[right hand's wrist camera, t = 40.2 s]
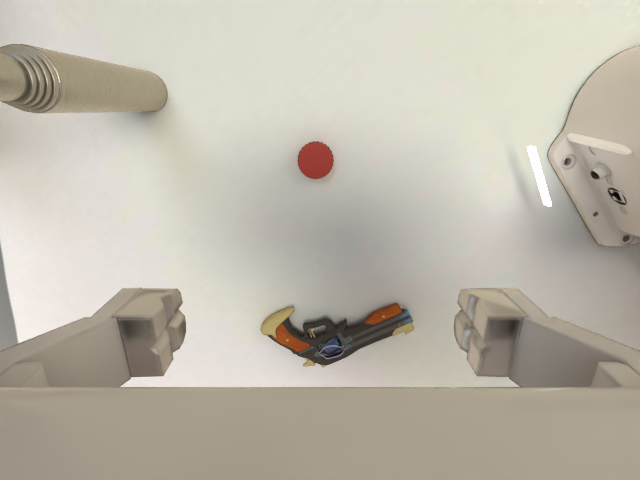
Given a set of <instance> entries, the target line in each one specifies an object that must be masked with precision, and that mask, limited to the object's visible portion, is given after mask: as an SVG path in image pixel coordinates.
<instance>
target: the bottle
mask: <svg viewBox="0 0 640 480" xmlns="http://www.w3.org/2000/svg"><path fill="white" fill-rule="evenodd" d="M166 100H167V89H166V86H165V84H164V82H163V81H162V80H161V78H160V77H159V76H157V75H156V74H154V73H152V72H149V71H144V70H140V69H135V68H130V67H126V66H121V65H117V64H112V63H107V62H103V61H98V60H94V59H89V58H84V57H80V56H75V55H71V54H66V53H61V52H57V51H52V50H48V49H43V48H38V47H34V46H29V45H23V44H11V45H7V46H3V47H0V101H1V102H3V103H6V104H8V105H11V106H13V107H15V108H18V109H20V110H23V111H27V112H32V113H82V112H147V111H157V110H159V109H161V108H162V107H163V106H164V104H165V103H166Z"/></svg>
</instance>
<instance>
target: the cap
mask: <svg viewBox="0 0 640 480" xmlns="http://www.w3.org/2000/svg"><path fill="white" fill-rule="evenodd" d="M333 161H334V160H333V155H332V152H331V151H330V149H329V147H327V146H326V144H323V143H321V142H318V141H317V142H314V141H313V142H311V143H310V142H309V143H308V144H307V145H305V146H304V147H302V150H301V151H300V154H299V156H298V165H299V168H300V170H301V171H302V173H303V174H305V175H306V176H307V177H310V178H314V179H318V178H322V177H324V176H326V175H327V174H328V173H329V172H330V170H331V168H332V165H333Z"/></svg>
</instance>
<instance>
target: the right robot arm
mask: <svg viewBox="0 0 640 480" xmlns="http://www.w3.org/2000/svg"><path fill="white" fill-rule="evenodd" d="M527 149H528V152H529V155H530V159H531V162H532V166H533V169H534V173H535V176H536V179H537V183H538V186H539V190H540V193H541V197H542V200H543V204H544V205H546V206H552V204H551V201H550V197H549V194H548V190H547V187H546V183H545V180H544V176H543V173H542V169H541V165H540V162H539V158H538V155H537V151H536V148H535V147H534V146H528V147H527ZM566 158H567V162H566V163H565V164H564V160H565V159H566ZM548 159H549V161H550V163H551V165H552V166H553V168H554V170H555V172H556V173H557V175H558V177H559V178H560V180H561V182H562V184H563V185H564V187H565V189H566V191H567V192H568V194H569V196H570V197H571V199H572V201H573V203H574V204H575V206H576V208H577V209H578V211H579V213H580V215H581V216H582V218H583V220H584V222H585V223H586V225H587V227H588V228H589V230H590V232H591V234H592V235H593V237H594V239H595V240H596V242H597V243H598V244H601V245H604V246H609V247H620V246H628V245H633V244H637V243H640V45H639V46H636V47H633V48H630V49H627V50H625V51H623V52H621V53H619V54H617V55H616V56H614V57H612V58H611V59H609V60H608V61H607V62H605V63H604V64H603V65H602V66H600V67H599V68H598V69H597V70H596V71H595V72H594V73H593V74H592V75H591V76H590V78H589V79H588V80H587V81H586V83H585V84H584V85H583V87H582V88H581V90H580V91H579V93H578V95H577V97H576V98H575V100H574V103H573V105H572V107H571V110H570V113H569V116H568V119H567V122H566V125H565V127H564V129H563V131H562V132H561V133H560V134H559V136H558V137H557V138H556V140H555V141H554V143H553V144H552V146H551V147H550V149H549V152H548ZM624 236H625V238H624V239H623V237H624ZM182 303H183V302H182V297H181V292H180V291H179V290H178V289H159V288H124V289H122V290H121V291H119V292H118V293H117V294H116V295H115V296H114V297H113V298H112V299H110V300H109V301H108V302H107V303H106V304H105V305H104V306H103V307H102V308H100V309H99V310H98V311H97V312H96V313H95V314H94V315H93V316H91V317H87V318H82V319H80V320H77V321H74V322H72V323H69V324H67V325H64V326H62V327H59V328H57V329H54V330H52V331H49V332H47V333H44V334H42V335H39V336H37V337H34V338H32V339H29V340H26V341H24V342H21V343H19V344H16V345H14V346H11V347H9V348H6V349H4V350H1V351H0V480H640V351H639V350H636V349H634V348H631V347H628V346H626V345H623V344H621V343H618V342H616V341H613V340H611V339H608V338H606V337H603V336H601V335H598V334H596V333H593V332H591V331H588V330H586V329H583V328H581V327H578V326H576V325H573V324H571V323H568V322H565V321H563V320H560V319H558V318H553V317H549V316H547V315H546V314H545V313H544V312H543V311H542V310H541V309H540V308H539V307H537V306H536V305H535V304H534V303H533V302H532V301H531V300H530V299H529V298H527V297H526V296H525V295H524V294H523V293H522V292H521V291H520V290H518V289H516V288H482V289H462V290H461V291H460V293H459V296H458V302H457V303H458V305H459V306H460V308H461V310H460V312H459V313H458V314H457V315H456V316H455V321H454V332H455V338H456V341H457V343H458V345H459V347H460V348H461V349H462V350H464V351H466V352H467V353H468V354H467V361H468V362H469V364H470V366H471V367H472V369H473V371H474V372H475V374H476V376H489V377H509V379H511V380H512V381H513V382H515V383H516V384H517V385H519V386H520V387H120V386H121V385H123V384H124V383H125V382H127V381H128V380H130V379H131V377H150V376H164V374H165V372H166V371H167V369H168V367H169V366H170V364H171V362H172V361H173V354H172V353H173V352H174V351H176V350H178V349H179V348H180V347H181V345H182V343H183V341H184V337H185V333H186V321H185V316H184V315H183V314H182V313H181V312H180V310H179V308H180V306H181V305H182Z"/></svg>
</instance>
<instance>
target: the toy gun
mask: <svg viewBox="0 0 640 480" xmlns="http://www.w3.org/2000/svg"><path fill="white" fill-rule="evenodd" d="M293 311H294V308H293V307H290V308H287V309H284V310H282V311H279V312H277V313H275V314H273V315H271V316H270V317H268V318H267V319H266V320H265V321H264V322H263V324H262V326H261V332H262V333H263V334H264V335H268V336H269V337H270V338H271V339H272V340H274V341H275V342H277V343H278V344H280V345H282V346H284V347H286V348H288V349H289V350H291V351H292V352H293V353H294V354H297V355H298V356H300V357H304V358H306V359H307V362H306V363H304V364H303V366H305V367H306V366H311V365H312V366H315V363H318V364H320V365H321V366H322V367H324V366H326V365H329V364H332V363H334V362H336V361H339V360H341V359H343V358H345V357H347V356H349V355H351V354H352V353H354V352H355V351H357V350H358V349H360V348H362V347H365V346H367V345H369V344H372V343H374V342H377V341H379V340H382V339H384V338H387V337H389V336H393V335H395V334H398V333H400V332H403V331H404V332H405V334H407V333H409V332H411V331H412V330H414V326H413V324H412V323H411V322H413V320H412V318H411V316H410V315H409V313H408V311H407V309H406V310H404V309H402V310H401V308H400V306H399V305H398V304H394V305H391V306H389V307H386V308H384V309H381V310H379V311H376V312H374V313H372V314H371V315H370V316H369V317H368V318H367V319H366V320H365V321H364V322H362V323H360V324H358V325H355V326H352V327H347V328H346V325H347V320H346V319H345V320H343V321H342V322H341V323H340V324H338V325H337V326H333V324H332V322H331V321H330V320H329V319H327V318H323V319H321V320H318V321H315V322H309V323H304V324H303V329H304V334H303V335H302V334H300V333H298V332H297V331H296V330H294V329H293V328H292V327H291V325H290V323H289V320H288V317H289V316H290V315H291V313H292V312H293ZM322 325H325V326H326V331H324V332H321V333H319V334H317V335H314V332H313V331H314V330H315V329H316V328H314V327H319V326H322ZM308 328H311V330H310V336H309V335H308V333H307V329H308ZM311 332H312V334H313V336H312V335H311ZM337 335H338V337H339V338H337V337H336V336H337ZM325 341H326V343H325V344H324V345H323V347H322V349H320V347H321V344H322V343H323V342H325ZM318 344H320V346H319V347H318V346H317V345H318ZM342 345H343V346H342ZM344 346H345V348H344V349H343V350H341V347H344ZM320 350H321V351H320ZM322 353H324V354H327V355H328V356H323V355H322ZM334 353H335V354H334ZM331 354H332V355H331Z"/></svg>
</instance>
